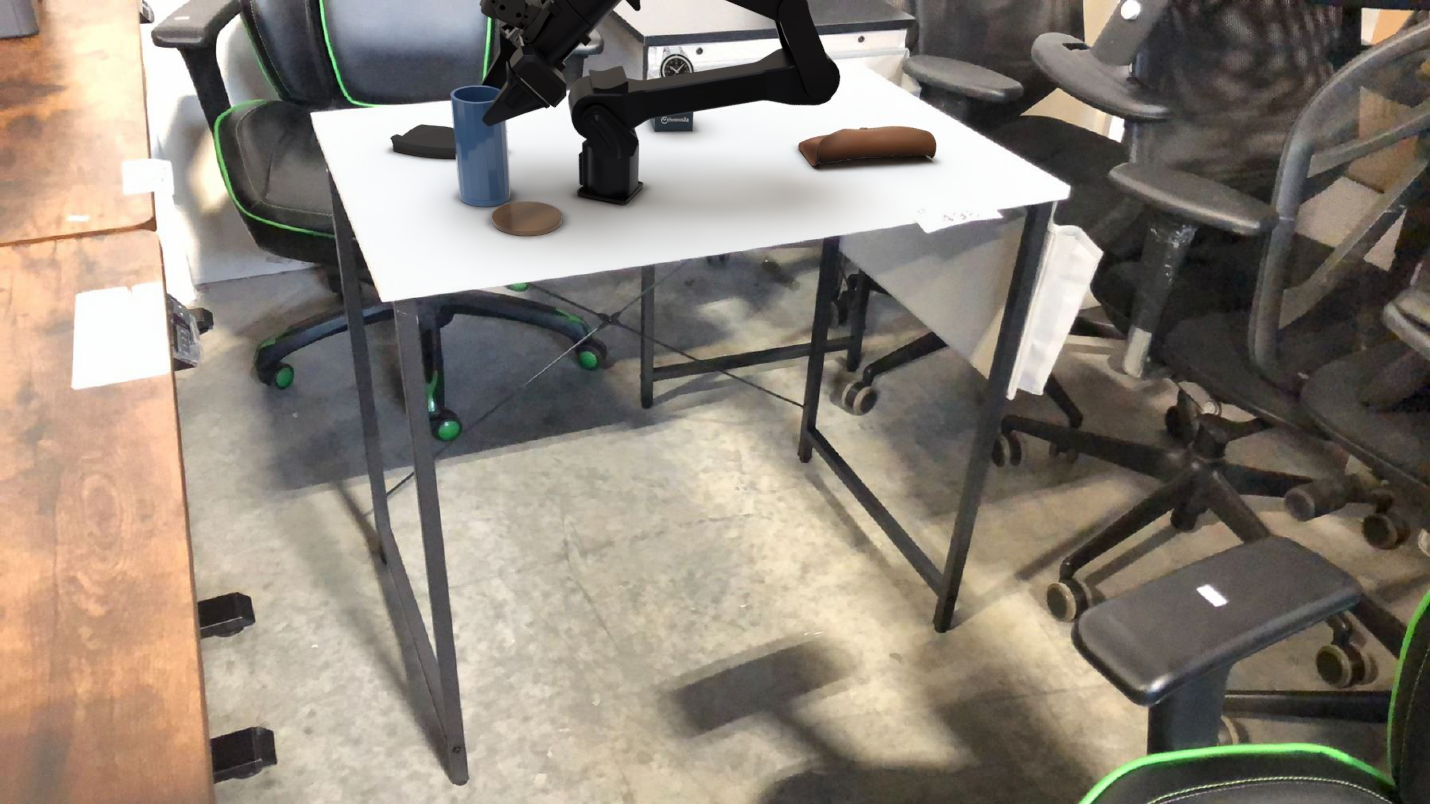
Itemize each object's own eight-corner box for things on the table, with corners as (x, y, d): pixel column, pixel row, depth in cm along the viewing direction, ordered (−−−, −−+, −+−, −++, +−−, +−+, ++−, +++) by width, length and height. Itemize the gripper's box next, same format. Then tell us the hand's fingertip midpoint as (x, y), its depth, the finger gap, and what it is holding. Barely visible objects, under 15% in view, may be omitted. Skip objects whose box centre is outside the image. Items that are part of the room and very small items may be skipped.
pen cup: (519, 191, 122) (513, 90, 114) (495, 210, 117) (488, 106, 110) (475, 182, 123) (467, 82, 116) (450, 201, 118) (440, 97, 111)
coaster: (573, 213, 118) (573, 208, 117) (543, 241, 111) (543, 236, 111) (512, 201, 119) (512, 196, 119) (479, 227, 113) (479, 222, 113)
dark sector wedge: (483, 168, 127) (482, 156, 126) (388, 151, 129) (387, 139, 128) (512, 146, 133) (512, 134, 132) (422, 129, 136) (420, 118, 135)
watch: (656, 136, 140) (659, 57, 133) (648, 116, 146) (650, 39, 140) (695, 135, 141) (699, 57, 134) (685, 115, 147) (689, 40, 141)
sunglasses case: (908, 136, 144) (926, 105, 139) (922, 176, 142) (942, 146, 136) (793, 143, 139) (807, 111, 133) (806, 184, 137) (821, 154, 131)
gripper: (514, -66, 113) (424, 35, 117) (530, -26, 98) (426, 87, 102) (584, 6, 119) (497, 99, 123) (609, 54, 104) (509, 157, 108)
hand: (482, 108), depth 114 cm, fingers open, 9 cm apart
